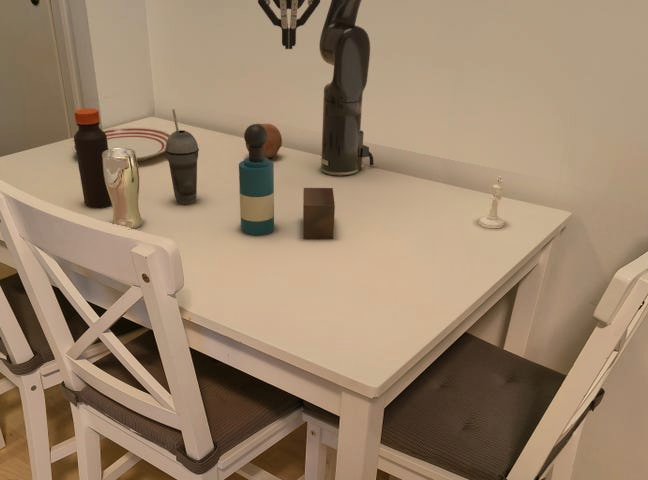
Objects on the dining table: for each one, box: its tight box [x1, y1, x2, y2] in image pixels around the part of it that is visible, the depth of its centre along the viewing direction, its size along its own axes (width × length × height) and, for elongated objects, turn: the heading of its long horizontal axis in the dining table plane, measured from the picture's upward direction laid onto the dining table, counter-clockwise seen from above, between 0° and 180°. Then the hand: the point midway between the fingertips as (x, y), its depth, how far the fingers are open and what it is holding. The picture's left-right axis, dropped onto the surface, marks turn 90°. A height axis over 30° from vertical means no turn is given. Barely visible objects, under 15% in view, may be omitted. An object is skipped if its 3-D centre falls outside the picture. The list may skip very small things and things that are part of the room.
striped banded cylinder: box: [238, 123, 275, 236], centre depth 136 cm, size 17×7×19 cm
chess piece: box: [478, 175, 505, 229], centre depth 139 cm, size 5×5×10 cm
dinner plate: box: [71, 126, 172, 163], centre depth 184 cm, size 27×27×3 cm
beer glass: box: [102, 148, 143, 230], centre depth 139 cm, size 7×7×15 cm
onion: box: [245, 123, 283, 159], centre depth 179 cm, size 10×9×10 cm
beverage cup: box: [164, 108, 200, 206], centre depth 149 cm, size 7×7×20 cm
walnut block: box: [302, 187, 336, 240], centre depth 139 cm, size 6×10×7 cm, turn 178°
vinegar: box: [73, 107, 112, 209], centre depth 148 cm, size 7×7×20 cm
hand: (288, 48), depth 141 cm, fingers closed
